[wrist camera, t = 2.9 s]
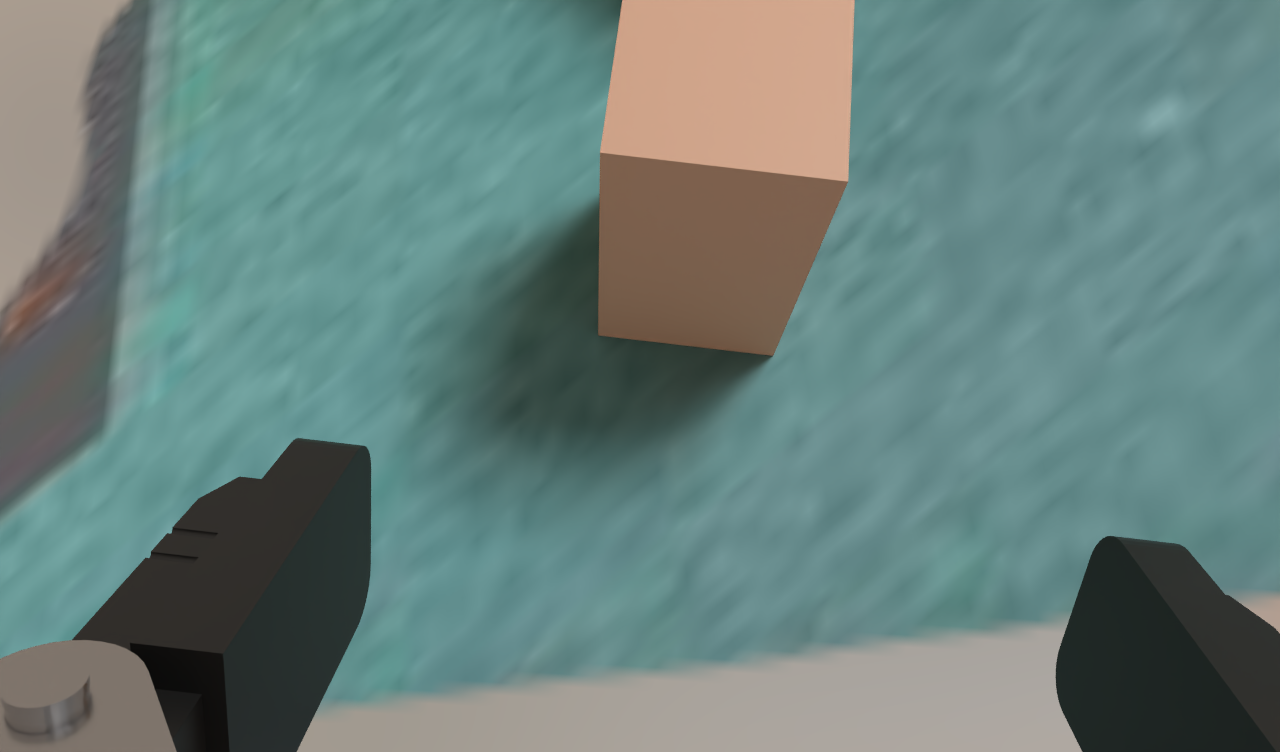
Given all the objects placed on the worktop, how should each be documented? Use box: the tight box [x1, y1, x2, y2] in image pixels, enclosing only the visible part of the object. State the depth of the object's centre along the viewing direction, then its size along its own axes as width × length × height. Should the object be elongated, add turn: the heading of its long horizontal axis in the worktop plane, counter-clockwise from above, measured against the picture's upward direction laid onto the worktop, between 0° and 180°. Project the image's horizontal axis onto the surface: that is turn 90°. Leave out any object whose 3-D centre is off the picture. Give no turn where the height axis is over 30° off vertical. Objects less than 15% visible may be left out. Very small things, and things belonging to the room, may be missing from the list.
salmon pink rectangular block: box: [598, 0, 854, 356], centre depth 25 cm, size 5×5×9 cm
